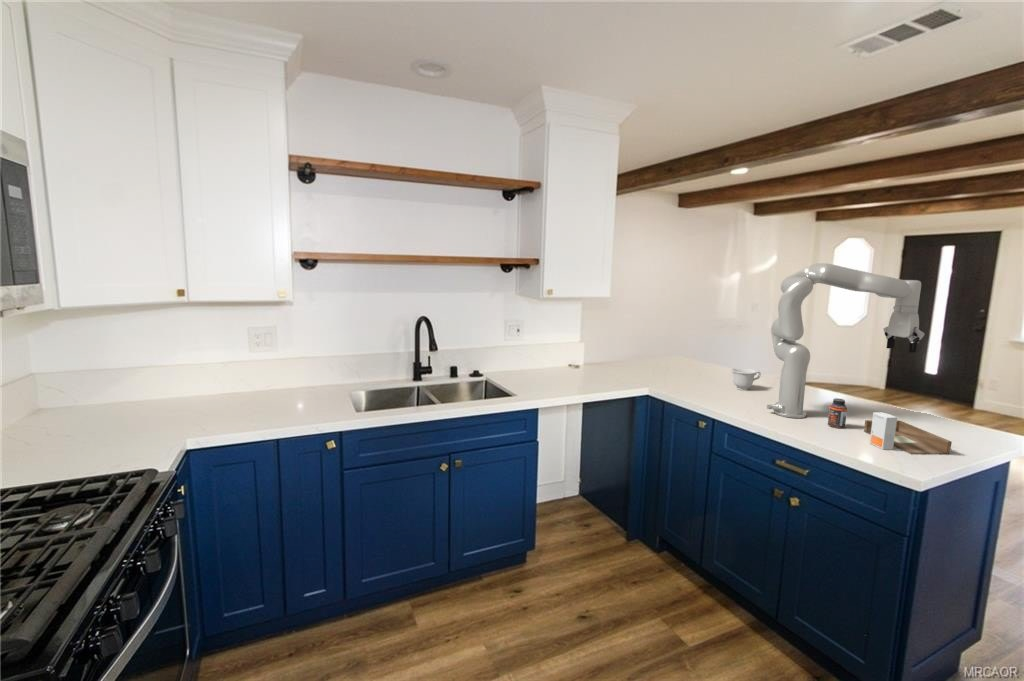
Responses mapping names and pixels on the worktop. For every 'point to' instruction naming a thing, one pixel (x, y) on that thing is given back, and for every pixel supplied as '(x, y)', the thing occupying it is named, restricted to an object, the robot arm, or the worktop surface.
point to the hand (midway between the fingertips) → (900, 350)
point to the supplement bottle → (837, 413)
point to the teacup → (744, 377)
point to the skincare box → (883, 430)
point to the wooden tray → (915, 439)
